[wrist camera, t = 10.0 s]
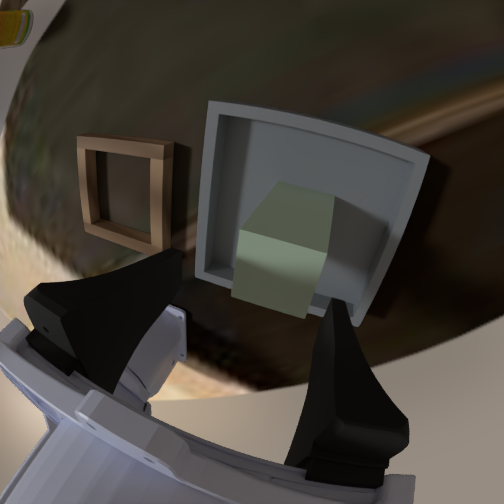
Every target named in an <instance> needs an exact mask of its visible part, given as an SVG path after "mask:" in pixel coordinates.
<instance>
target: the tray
mask: <svg viewBox="0 0 504 504" xmlns="http://www.w3.org/2000/svg"><path fill="white" fill-rule="evenodd" d="M429 159H430V155H428V154H427V153H425V152H424V151H423V150H421V149H419V148H416V147H414V146H411V145H408V144H406V143H403V142H400V141H398V140H395V139H392V138H389V137H386V136H383V135H380V134H377V133H374V132H371V131H368V130H364V129H361V128H358V127H354V126H351V125H347V124H344V123H340V122H336V121H333V120H329V119H325V118H321V117H317V116H312V115H308V114H304V113H299V112H294V111H290V110H285V109H279V108H274V107H269V106H263V105H257V104H250V103H244V102H237V101H229V100H211V101H209V104H208V112H207V121H206V130H205V139H204V149H203V159H202V170H201V182H200V194H199V208H198V223H197V241H196V262H195V277H197V278H200V279H203V280H206V281H209V282H212V283H215V284H218V285H221V286H224V287H227V288H230V289H232V284H233V276H234V269H235V261H236V253H237V246H238V238H239V231H240V228H241V227H242V226H243V224H244V223H245V222H246V221H247V219H248V218H249V217H250V216H251V214H252V213H253V212H254V211H255V209H256V208H257V207H258V206H259V204H260V203H261V202H262V201H263V199H264V198H265V197H266V196H267V194H268V193H269V192H270V191H271V190H272V188H273V187H274V186H275V185H276V183H277V182H278V181H281V182H285V183H289V184H293V185H297V186H300V187H304V188H308V189H312V190H316V191H319V192H323V193H326V194H330V195H334V196H335V200H334V208H333V216H332V224H331V231H330V238H329V245H328V252H327V256H326V259H325V262H324V265H323V268H322V271H321V274H320V277H319V280H318V283H317V286H316V289H315V292H314V294H313V297H312V300H311V303H310V306H309V308H308V311H307V313H311V314H314V315H317V316H321V317H324V314H325V312H326V310H327V307H328V305H329V303H330V300H331V298H332V297H334V298H337V299H340V300H344V301H345V302H346V305H347V309H348V312H349V316H350V319H351V322H352V325H353V326H356V327H359V325H360V323H361V322H362V320H363V318H364V316H365V314H366V312H367V310H368V308H369V306H370V304H371V303H372V301H373V299H374V297H375V295H376V293H377V291H378V288H379V286H380V284H381V282H382V280H383V278H384V276H385V274H386V272H387V269H388V267H389V265H390V263H391V261H392V258H393V256H394V254H395V252H396V249H397V247H398V245H399V242H400V240H401V237H402V235H403V232H404V230H405V228H406V225H407V222H408V220H409V217H410V215H411V212H412V209H413V207H414V204H415V201H416V198H417V196H418V193H419V190H420V187H421V184H422V181H423V178H424V175H425V172H426V169H427V165H428V162H429Z"/></svg>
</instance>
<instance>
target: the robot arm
mask: <svg viewBox="0 0 504 504" xmlns="http://www.w3.org/2000/svg"><path fill="white" fill-rule="evenodd" d="M181 285H182V251H181V250H178V249H175V248H169V249H166V250H164V251H161V252H159V253H157V254H154V255H152V256H150V257H148V258H145V259H143V260H141V261H138V262H136V263H133V264H131V265H128V266H126V267H123V268H121V269H118V270H115V271H112V272H109V273H105V274H102V275H98V276H94V277H89V278H85V279H80V280H73V281H65V282H49V283H40V284H39V285H37V286H36V287H35V288H34V289H33V290H32V291H30V292H29V293H28V294H27V295H26V296H25V297H24V306H25V308H26V311H27V313H28V315H29V318H30V320H31V322H32V324H33V326H34V329H33V330H32V331H30V330H29V329H28V328H27V327H26V326H25V325H24V324H23V323H22V322H21V321H19V320H18V319H17V318H14V319H13V320H12V321H11V322H10V323H9V324H8V325H7V326H6V327H5V328H4V329H3V330H2V331H1V332H0V369H1V370H2V371H3V373H4V374H5V375H6V377H7V378H8V379H9V380H10V381H11V382H12V383H13V384H14V385H15V386H16V387H17V388H18V389H19V390H20V391H21V392H22V393H23V394H24V395H25V396H26V397H27V398H28V399H29V400H30V401H31V402H32V403H33V404H34V405H35V406H36V407H37V408H38V409H40V411H42V412H43V415H44V418H45V421H46V424H47V428H48V430H47V431H46V433H45V434H44V435H43V437H42V438H41V439H40V441H39V442H38V443H37V445H36V446H35V447H34V449H33V450H32V451H31V453H30V454H29V456H28V457H27V458H26V460H25V461H24V462H23V464H22V465H21V467H20V468H19V469H18V471H17V472H16V474H15V475H14V477H13V478H12V479H11V481H10V482H9V484H8V485H7V486H6V488H5V490H4V491H3V492H2V494H1V496H0V504H413V501H414V491H415V477H416V476H415V475H401V474H389V475H385V476H384V473H385V469H387V468H388V466H389V459H390V458H392V457H393V456H395V455H396V454H398V453H400V452H401V451H402V450H404V449H405V448H406V447H407V446H408V444H409V422H408V418H406V416H405V415H404V414H403V413H402V412H401V411H400V410H399V409H398V408H397V406H396V405H395V404H394V403H393V402H392V400H391V399H390V398H389V396H388V395H387V394H386V392H385V391H384V389H383V388H382V386H381V385H380V383H379V382H378V380H377V379H376V377H375V375H374V374H373V372H372V370H371V368H370V366H369V365H368V363H367V361H366V358H365V356H364V354H363V352H362V349H361V347H360V345H359V342H358V340H357V337H356V334H355V331H354V328H353V325H352V322H351V319H350V316H349V312H348V309H347V305H346V302H345V301H344V300H340V299H337V298H334V297H332V298H331V300H330V303H329V305H328V307H327V310H326V312H325V314H324V317H323V319H322V321H321V324H320V326H319V328H318V332H317V336H316V340H315V344H314V349H313V356H312V363H311V370H310V377H309V384H308V390H307V395H306V399H305V402H304V406H303V409H302V413H301V416H300V420H299V423H298V426H297V429H296V432H295V435H294V438H293V441H292V444H291V447H290V450H289V452H288V455H287V457H286V460H285V462H284V465H283V464H279V463H275V462H271V461H268V460H264V459H261V458H257V457H253V456H250V455H247V454H244V453H241V452H237V451H235V450H232V449H229V448H226V447H223V446H220V445H218V444H215V443H212V442H210V441H207V440H204V439H202V438H199V437H197V436H194V435H192V434H190V433H187V432H185V431H182V430H180V429H178V428H176V427H174V426H171V425H169V424H167V423H165V422H163V421H160V420H159V419H156V418H154V417H152V416H151V404H150V403H149V402H147V400H148V399H149V398H151V397H153V396H154V395H155V394H157V393H158V391H159V390H160V389H161V387H162V385H163V384H164V382H165V381H166V379H167V377H168V376H169V374H170V373H171V371H172V369H173V368H174V366H175V365H176V363H177V362H178V360H180V361H182V362H186V360H187V342H186V312H185V311H184V310H182V309H180V308H177V307H175V306H172V305H170V303H171V301H172V300H173V298H174V297H175V295H176V294H177V292H178V290H179V289H180V287H181Z"/></svg>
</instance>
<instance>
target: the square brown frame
mask: <svg viewBox="0 0 504 504" xmlns="http://www.w3.org/2000/svg"><path fill="white" fill-rule="evenodd" d="M96 150H98V151H105V152H113V153H120V154H127V155H133V156H140V157H146V158H151V167H150V217H151V234H148V233H145V232H142V231H138V230H135V229H132V228H129V227H126V226H123V225H120V224H117V223H114V222H110V221H107V220H104V219H101V218H100V211H99V200H98V187H97V170H96ZM173 154H174V142H171V141H164V140H156V139H148V138H140V137H131V136H121V135H110V134H97V133H86V134H82V135H79V136H77V156H78V173H79V185H80V195H81V204H82V212H83V220H84V227H85V232H88V233H91V234H93V235H96V236H99V237H101V238H104V239H107V240H109V241H112V242H115V243H118V244H120V245H123V246H126V247H129V248H131V249H134V250H137V251H140V252H143V253H145V254H148V255H151V256H152V255H154V254H157V253H159V252H161V251H164V250H166V249H169V248H171V200H172V173H173Z"/></svg>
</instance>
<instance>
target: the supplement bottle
mask: <svg viewBox="0 0 504 504" xmlns="http://www.w3.org/2000/svg"><path fill="white" fill-rule="evenodd" d="M32 25H33V13H32V11H31V10H11V11H0V49H5V48H13V47H19V46H21V45H22V44H23V43H24V42H25V41H26V39H27V37H28V36H29V34H30V31H31V29H32Z"/></svg>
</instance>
